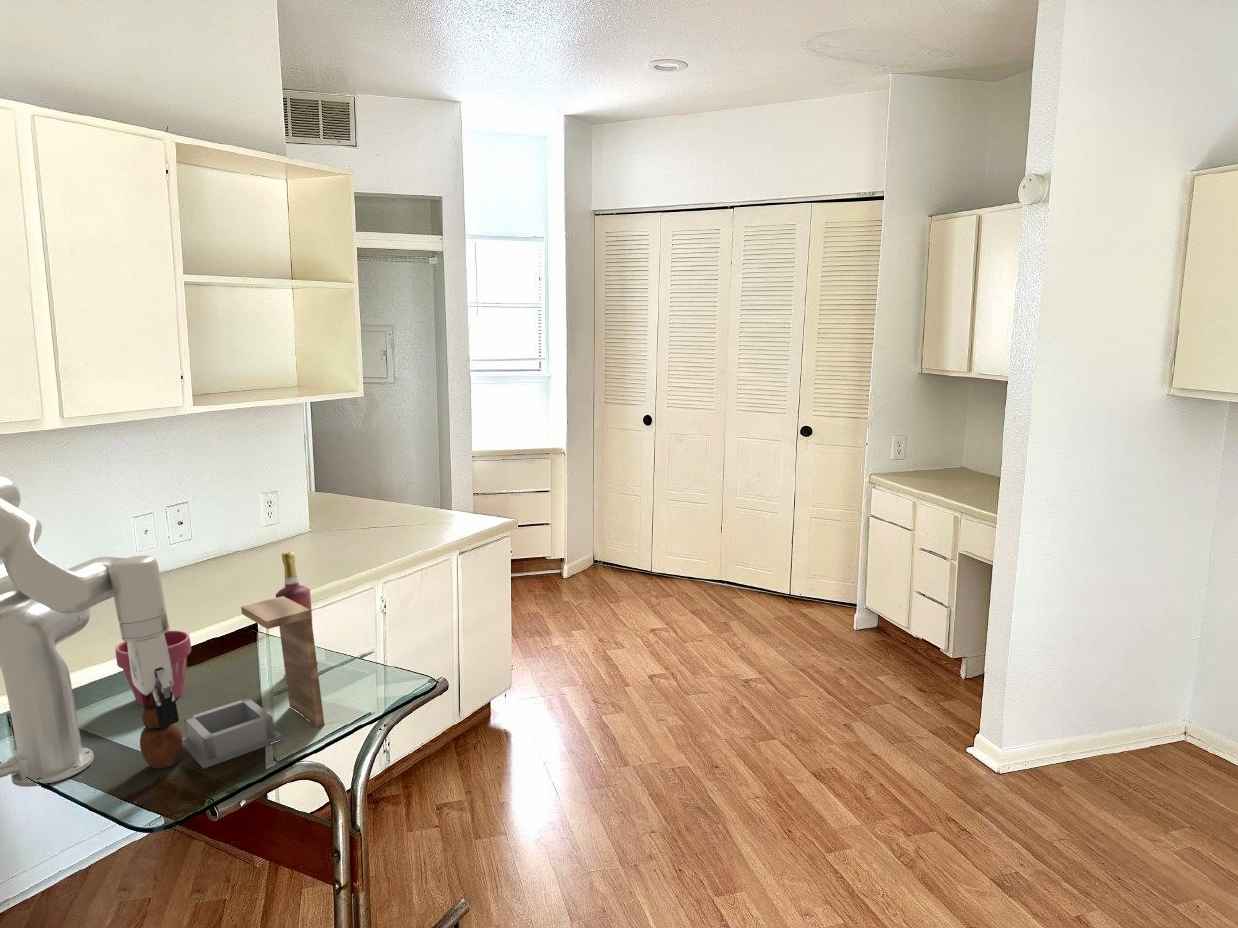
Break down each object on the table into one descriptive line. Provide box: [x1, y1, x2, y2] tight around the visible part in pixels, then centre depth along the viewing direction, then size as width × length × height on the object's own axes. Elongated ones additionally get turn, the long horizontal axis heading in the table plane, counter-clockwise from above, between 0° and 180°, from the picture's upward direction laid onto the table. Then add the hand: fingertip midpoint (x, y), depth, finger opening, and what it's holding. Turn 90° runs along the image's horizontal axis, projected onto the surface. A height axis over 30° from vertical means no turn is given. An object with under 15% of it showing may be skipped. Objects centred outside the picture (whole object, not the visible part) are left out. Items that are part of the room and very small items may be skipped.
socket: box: [182, 697, 283, 769], centre depth 161 cm, size 14×14×5 cm
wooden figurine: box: [139, 692, 183, 769], centre depth 153 cm, size 7×6×15 cm
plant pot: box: [115, 630, 192, 706], centre depth 185 cm, size 14×14×13 cm
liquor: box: [275, 551, 319, 666], centre depth 193 cm, size 7×7×28 cm
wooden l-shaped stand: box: [240, 596, 325, 729], centre depth 167 cm, size 8×14×24 cm, turn 42°
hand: (161, 716), depth 153 cm, fingers open, 9 cm apart
